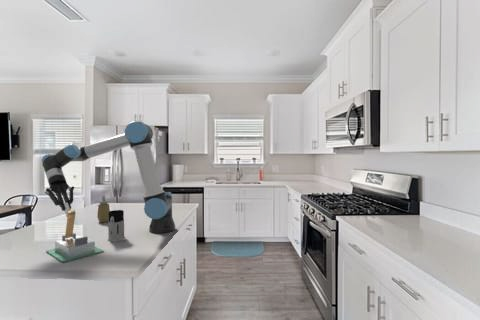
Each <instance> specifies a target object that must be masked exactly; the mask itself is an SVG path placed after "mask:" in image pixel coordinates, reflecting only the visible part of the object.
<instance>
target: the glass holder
mask: <svg viewBox="0 0 480 320" xmlns="http://www.w3.org/2000/svg"><path fill="white" fill-rule="evenodd" d="M108 215H109V220H108V222H107V223H108V225H107V228H108V233H107V234H108V237H107V241H108V242H120V241H124V240H126V237H125V219H124V217H125V216H124V215H125V212H124V210H121V209H117V210H116V209H114V210H110V211H109V212H108Z"/></svg>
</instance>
